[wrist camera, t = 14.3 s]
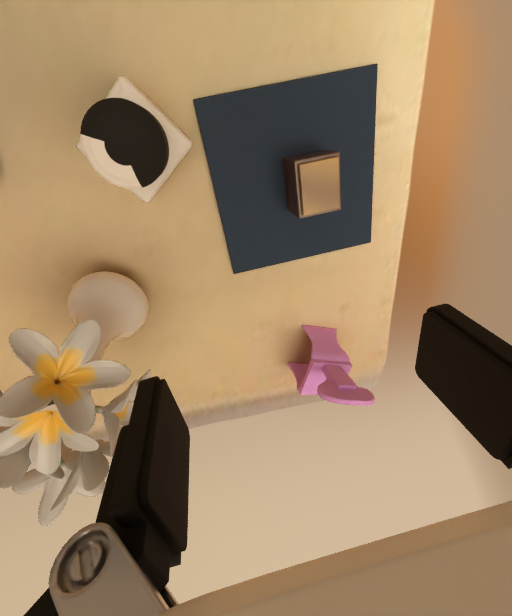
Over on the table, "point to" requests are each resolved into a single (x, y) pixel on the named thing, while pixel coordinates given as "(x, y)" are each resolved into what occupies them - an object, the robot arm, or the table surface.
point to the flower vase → (70, 396)
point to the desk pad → (284, 143)
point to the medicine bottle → (131, 141)
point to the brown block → (313, 183)
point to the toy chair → (328, 371)
